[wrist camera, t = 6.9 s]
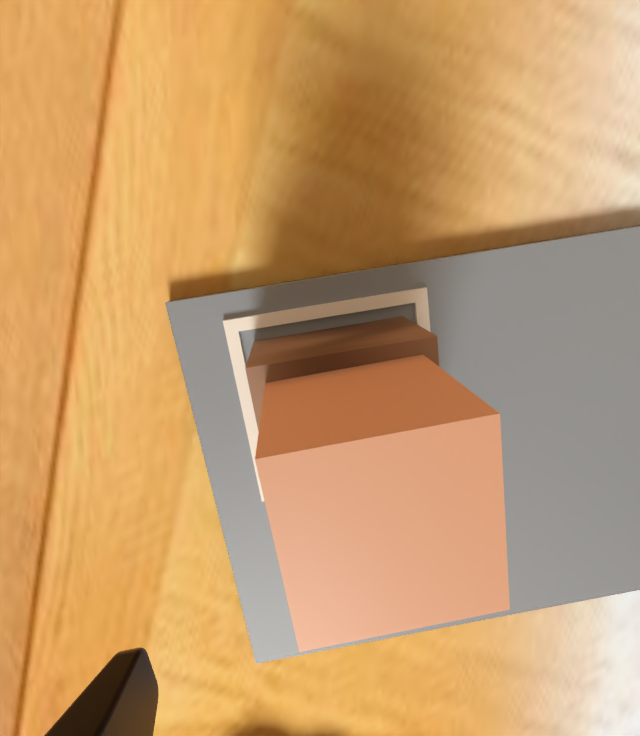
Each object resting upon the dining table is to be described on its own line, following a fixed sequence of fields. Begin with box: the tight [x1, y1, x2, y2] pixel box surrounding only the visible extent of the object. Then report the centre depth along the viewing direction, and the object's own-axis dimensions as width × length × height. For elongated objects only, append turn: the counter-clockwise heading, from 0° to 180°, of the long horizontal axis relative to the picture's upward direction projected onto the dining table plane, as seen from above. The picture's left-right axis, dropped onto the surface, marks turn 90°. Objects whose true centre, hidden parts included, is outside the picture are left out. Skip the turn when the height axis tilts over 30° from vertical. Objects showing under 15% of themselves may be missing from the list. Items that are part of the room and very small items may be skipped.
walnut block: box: [245, 316, 440, 432], centre depth 16 cm, size 6×6×4 cm
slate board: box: [165, 225, 640, 664], centre depth 19 cm, size 22×18×1 cm
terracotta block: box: [255, 355, 510, 652], centre depth 12 cm, size 5×5×5 cm
